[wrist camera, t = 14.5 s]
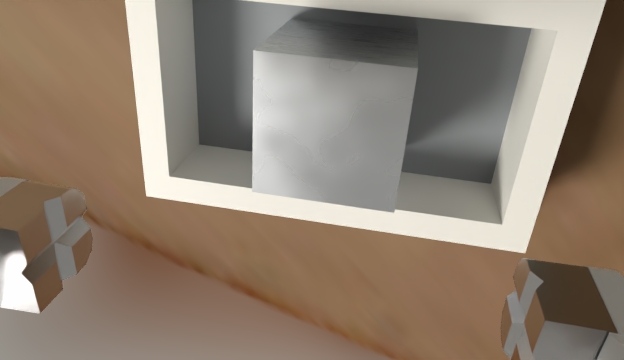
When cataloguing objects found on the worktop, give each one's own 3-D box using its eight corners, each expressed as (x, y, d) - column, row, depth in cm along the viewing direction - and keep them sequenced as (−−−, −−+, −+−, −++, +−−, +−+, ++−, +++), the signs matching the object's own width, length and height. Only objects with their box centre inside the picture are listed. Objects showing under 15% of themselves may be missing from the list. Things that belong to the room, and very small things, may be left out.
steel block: (417, 30, 18) (417, 68, 13) (399, 147, 20) (394, 212, 16) (291, 17, 18) (253, 50, 14) (286, 132, 20) (252, 191, 16)
